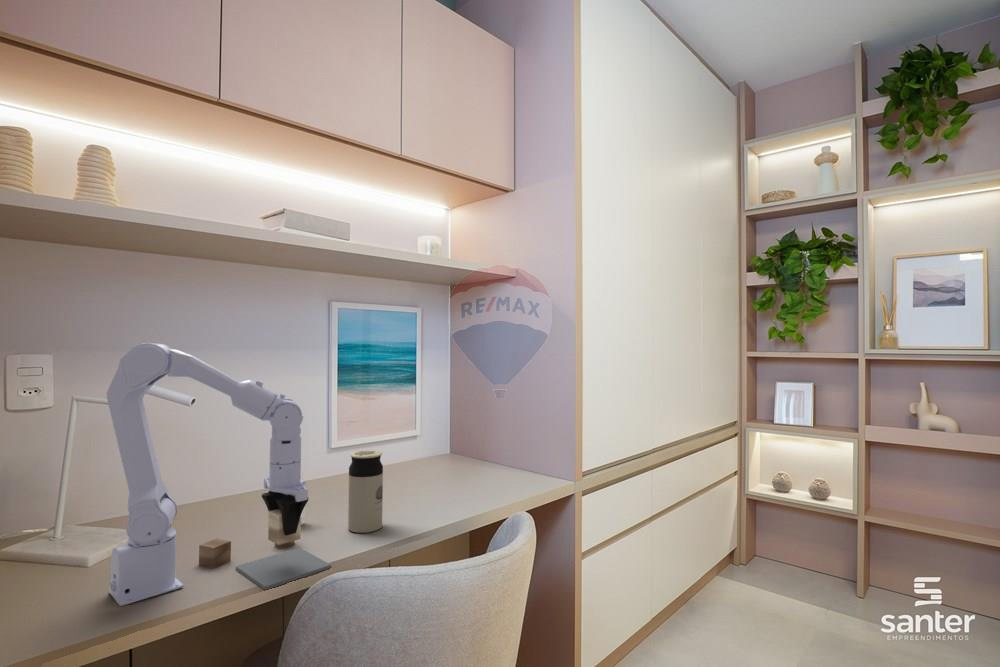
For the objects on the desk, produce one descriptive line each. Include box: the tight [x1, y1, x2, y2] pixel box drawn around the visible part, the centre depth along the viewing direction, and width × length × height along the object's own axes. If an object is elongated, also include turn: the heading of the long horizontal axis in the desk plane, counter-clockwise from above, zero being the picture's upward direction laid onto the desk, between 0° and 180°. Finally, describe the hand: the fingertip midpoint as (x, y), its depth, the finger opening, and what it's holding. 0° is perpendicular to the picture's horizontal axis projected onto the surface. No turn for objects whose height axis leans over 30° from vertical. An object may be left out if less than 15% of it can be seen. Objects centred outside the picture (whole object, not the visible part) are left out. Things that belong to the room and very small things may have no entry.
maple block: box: [267, 509, 302, 545], centre depth 102 cm, size 4×4×6 cm
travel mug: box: [347, 449, 384, 534], centre depth 125 cm, size 8×8×18 cm
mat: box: [235, 547, 332, 591], centre depth 102 cm, size 13×13×1 cm
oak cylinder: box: [274, 540, 296, 549], centre depth 114 cm, size 4×4×5 cm
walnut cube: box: [198, 538, 232, 569], centre depth 105 cm, size 4×4×4 cm
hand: (284, 530), depth 102 cm, fingers closed on maple block, 4 cm apart
